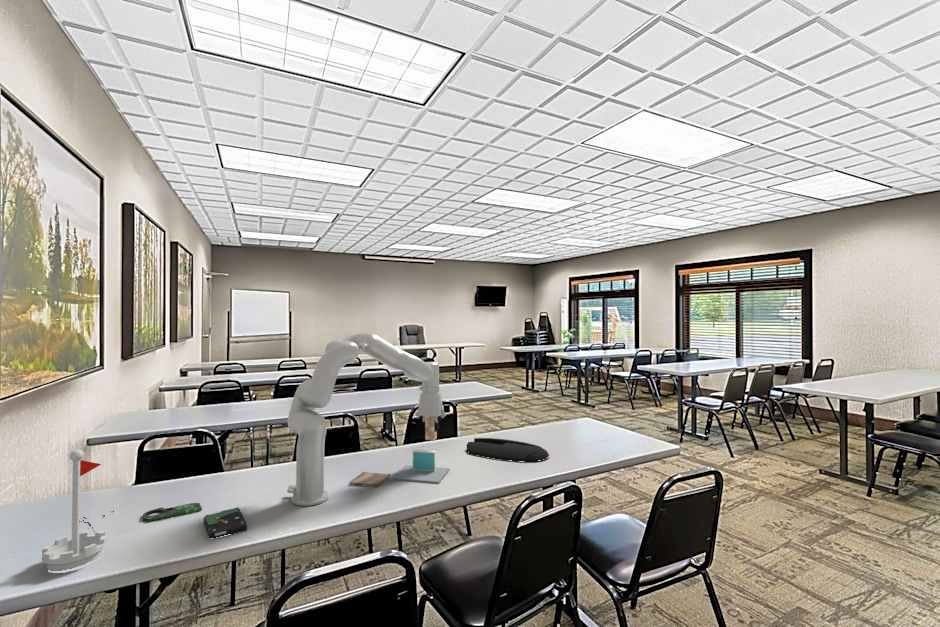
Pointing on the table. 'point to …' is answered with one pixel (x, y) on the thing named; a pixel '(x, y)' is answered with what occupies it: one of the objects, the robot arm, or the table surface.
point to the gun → (171, 512)
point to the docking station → (506, 449)
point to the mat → (421, 474)
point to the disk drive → (225, 523)
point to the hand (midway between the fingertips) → (431, 430)
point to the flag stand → (75, 529)
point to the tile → (424, 460)
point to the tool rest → (369, 479)
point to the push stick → (430, 428)
